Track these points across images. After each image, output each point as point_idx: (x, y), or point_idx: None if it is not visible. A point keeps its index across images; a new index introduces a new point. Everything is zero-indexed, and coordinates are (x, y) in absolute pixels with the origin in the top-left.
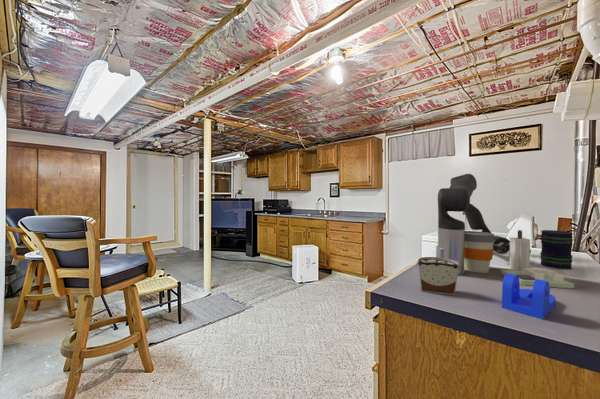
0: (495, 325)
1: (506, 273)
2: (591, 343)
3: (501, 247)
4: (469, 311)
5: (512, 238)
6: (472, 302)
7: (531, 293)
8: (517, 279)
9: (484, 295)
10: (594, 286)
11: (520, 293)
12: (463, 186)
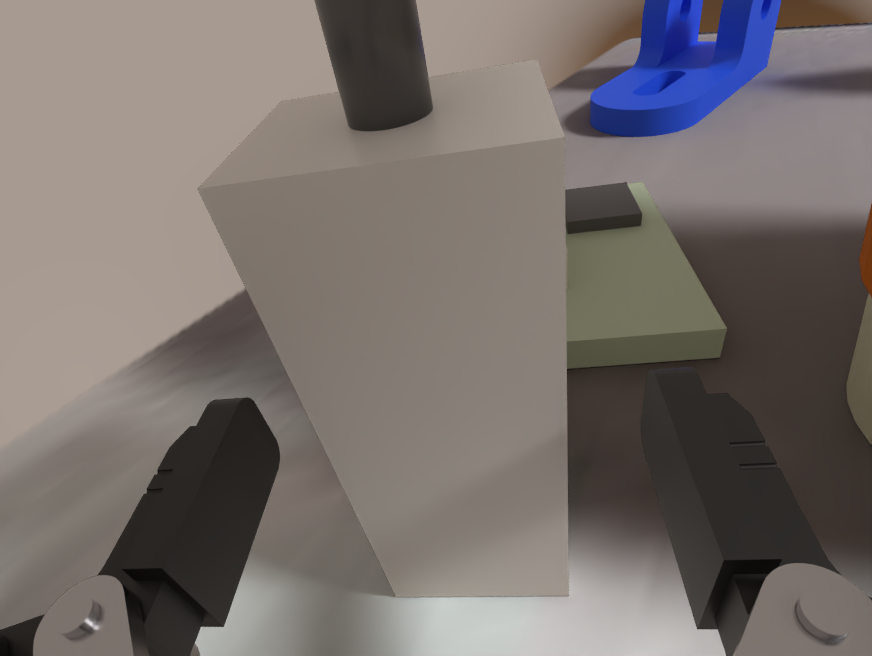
0: (787, 28)
1: (693, 278)
2: (619, 46)
3: (735, 476)
4: (857, 36)
5: (550, 102)
6: (860, 60)
7: (657, 95)
8: None
9: (826, 94)
10: (245, 288)
11: (700, 81)
12: None
